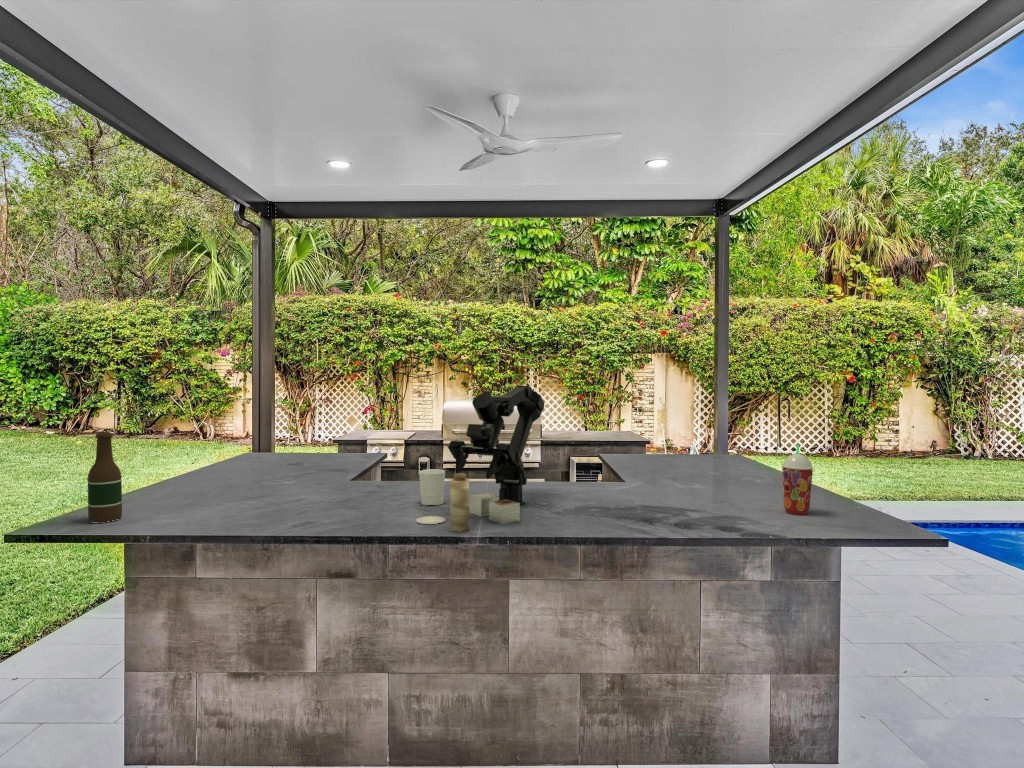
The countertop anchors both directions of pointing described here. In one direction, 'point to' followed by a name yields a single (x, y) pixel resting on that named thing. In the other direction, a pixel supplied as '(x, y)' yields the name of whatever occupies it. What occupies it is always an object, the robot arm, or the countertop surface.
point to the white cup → (432, 486)
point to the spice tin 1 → (481, 503)
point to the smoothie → (797, 483)
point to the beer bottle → (104, 483)
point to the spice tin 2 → (504, 511)
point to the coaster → (430, 520)
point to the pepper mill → (459, 502)
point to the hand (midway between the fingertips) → (471, 476)
